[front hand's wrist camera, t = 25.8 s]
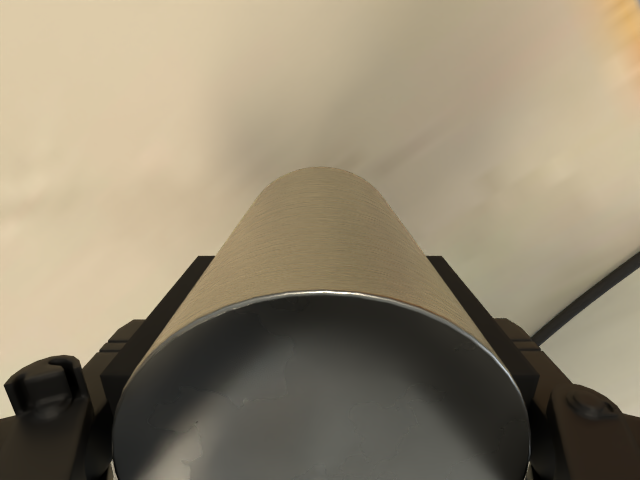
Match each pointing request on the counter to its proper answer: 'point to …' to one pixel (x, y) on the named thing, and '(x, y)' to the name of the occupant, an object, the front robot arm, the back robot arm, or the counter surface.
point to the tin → (321, 357)
